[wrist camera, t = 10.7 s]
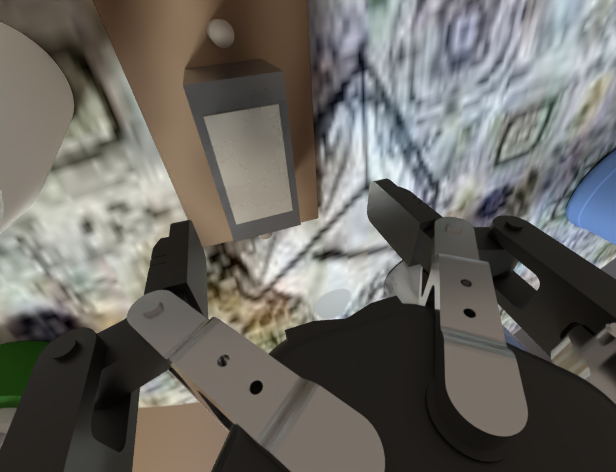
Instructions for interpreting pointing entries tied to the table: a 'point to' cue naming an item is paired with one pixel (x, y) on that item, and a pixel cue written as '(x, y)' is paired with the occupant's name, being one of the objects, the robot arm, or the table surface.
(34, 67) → the cup
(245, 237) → the block
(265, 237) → the tray
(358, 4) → the table surface
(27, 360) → the candle
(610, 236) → the water jug
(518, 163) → the table surface
